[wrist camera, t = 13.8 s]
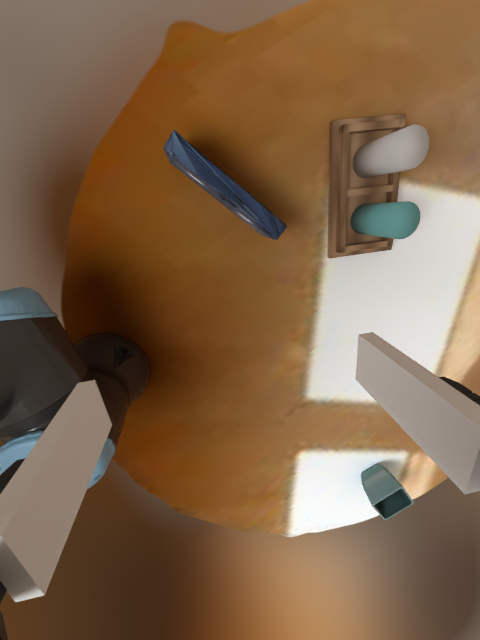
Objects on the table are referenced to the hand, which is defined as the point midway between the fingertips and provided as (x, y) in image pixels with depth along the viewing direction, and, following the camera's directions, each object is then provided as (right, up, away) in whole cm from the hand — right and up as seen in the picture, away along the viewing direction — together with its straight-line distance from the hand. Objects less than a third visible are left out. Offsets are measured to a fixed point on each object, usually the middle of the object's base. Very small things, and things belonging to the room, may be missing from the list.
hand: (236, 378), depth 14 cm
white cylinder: (+21, +29, +31) cm, 47 cm away
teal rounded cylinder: (+22, +21, +34) cm, 46 cm away
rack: (+21, +25, +33) cm, 47 cm away
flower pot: (+37, -40, +62) cm, 82 cm away
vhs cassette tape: (-3, +23, +31) cm, 39 cm away
